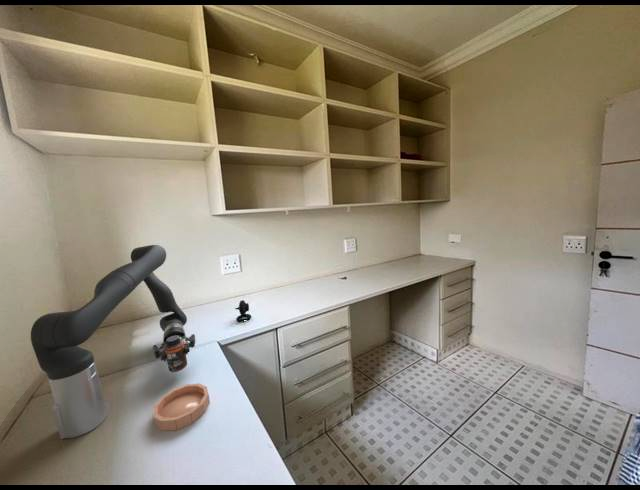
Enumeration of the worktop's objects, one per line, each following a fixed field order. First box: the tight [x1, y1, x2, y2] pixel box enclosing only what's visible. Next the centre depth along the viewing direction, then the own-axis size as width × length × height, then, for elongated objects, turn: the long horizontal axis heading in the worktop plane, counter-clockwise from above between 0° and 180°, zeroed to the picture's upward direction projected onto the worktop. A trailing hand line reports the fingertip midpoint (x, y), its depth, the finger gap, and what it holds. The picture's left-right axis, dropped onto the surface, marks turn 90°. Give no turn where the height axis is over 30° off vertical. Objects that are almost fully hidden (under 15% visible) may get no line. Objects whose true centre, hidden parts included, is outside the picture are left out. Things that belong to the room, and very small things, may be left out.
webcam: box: [235, 299, 252, 322], centre depth 133 cm, size 8×8×10 cm
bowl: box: [152, 382, 211, 432], centre depth 75 cm, size 14×14×3 cm
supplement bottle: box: [165, 335, 188, 373], centre depth 90 cm, size 6×6×11 cm
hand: (175, 355), depth 88 cm, fingers closed on supplement bottle, 6 cm apart
